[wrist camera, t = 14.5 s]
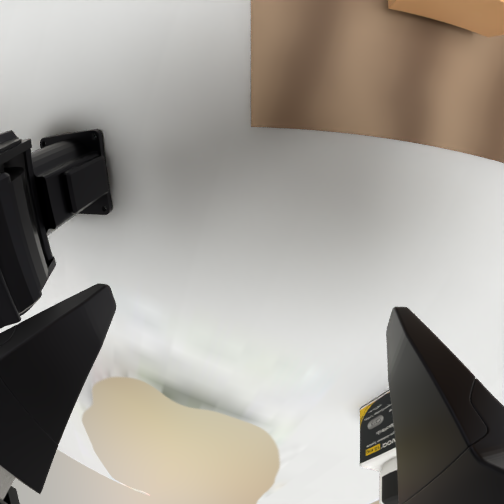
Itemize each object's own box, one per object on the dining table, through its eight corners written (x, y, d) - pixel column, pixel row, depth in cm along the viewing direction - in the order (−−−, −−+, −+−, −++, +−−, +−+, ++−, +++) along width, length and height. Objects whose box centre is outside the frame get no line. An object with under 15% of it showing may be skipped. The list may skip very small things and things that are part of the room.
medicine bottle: (410, 373, 25) (424, 490, 15) (448, 395, 26) (465, 494, 16) (358, 408, 29) (355, 513, 19) (399, 425, 30) (403, 517, 20)
